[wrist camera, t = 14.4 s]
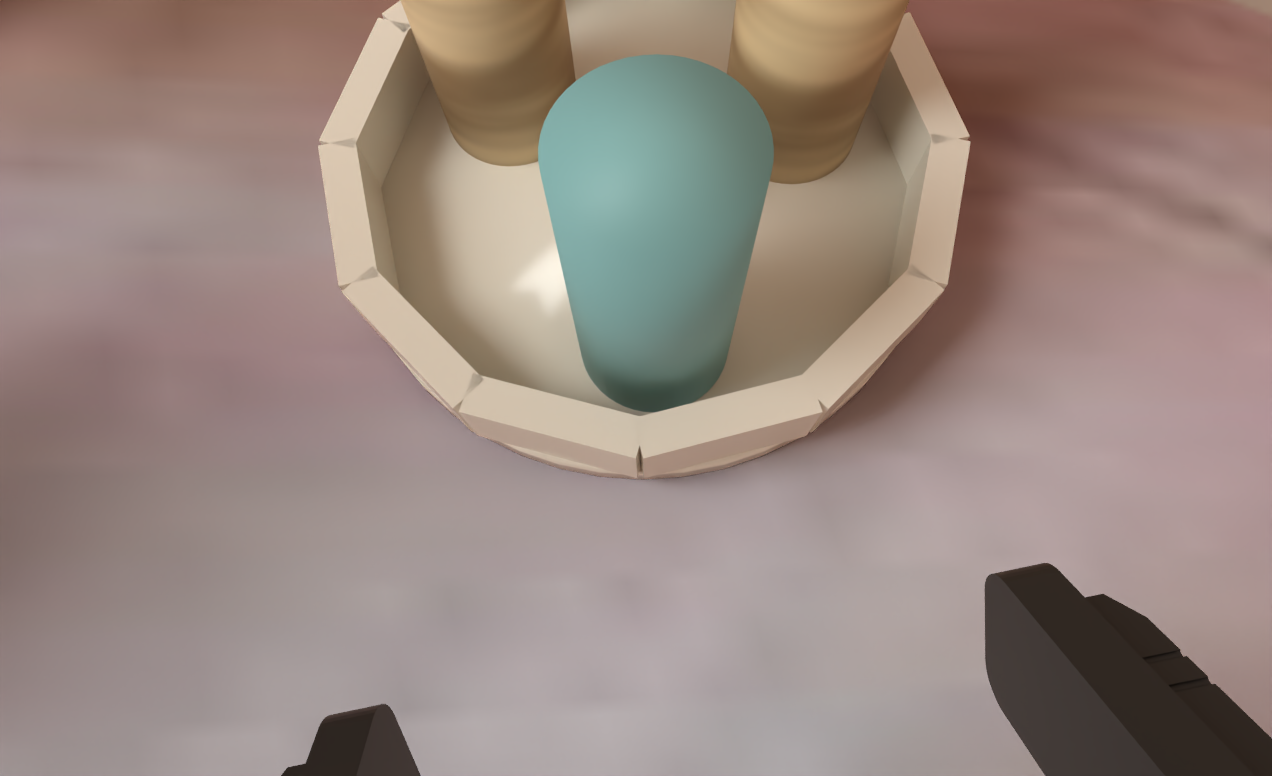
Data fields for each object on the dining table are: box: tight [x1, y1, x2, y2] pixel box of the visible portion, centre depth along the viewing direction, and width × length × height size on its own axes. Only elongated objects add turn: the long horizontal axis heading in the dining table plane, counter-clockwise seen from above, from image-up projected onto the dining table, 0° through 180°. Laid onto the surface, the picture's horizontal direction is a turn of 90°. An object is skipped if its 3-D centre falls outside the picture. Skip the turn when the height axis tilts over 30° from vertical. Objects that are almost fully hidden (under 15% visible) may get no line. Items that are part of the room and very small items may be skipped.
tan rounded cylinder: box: [401, 0, 576, 166], centre depth 24 cm, size 5×5×10 cm
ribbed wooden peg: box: [727, 0, 909, 184], centre depth 23 cm, size 5×5×10 cm
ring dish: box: [318, 0, 971, 479], centre depth 27 cm, size 20×20×4 cm
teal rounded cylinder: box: [538, 54, 774, 412], centre depth 20 cm, size 5×5×10 cm
